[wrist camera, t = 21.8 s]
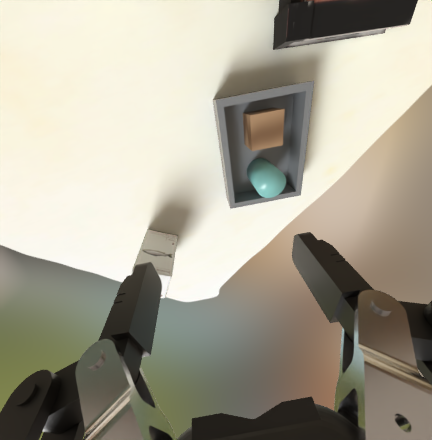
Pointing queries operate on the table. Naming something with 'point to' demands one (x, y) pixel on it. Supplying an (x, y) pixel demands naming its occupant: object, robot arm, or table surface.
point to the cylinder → (266, 178)
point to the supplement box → (159, 255)
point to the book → (337, 20)
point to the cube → (263, 128)
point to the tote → (279, 156)
